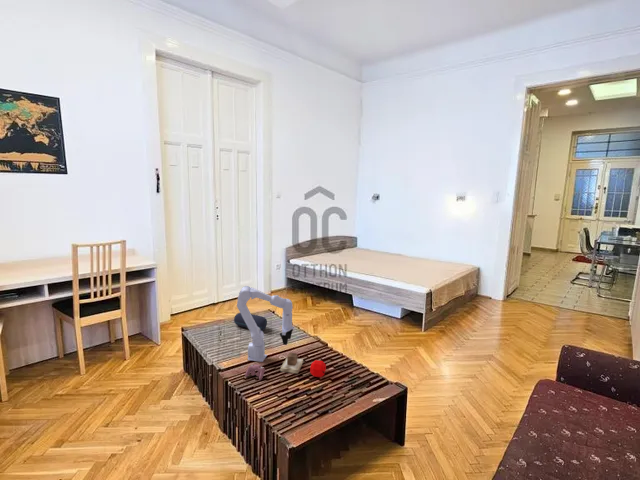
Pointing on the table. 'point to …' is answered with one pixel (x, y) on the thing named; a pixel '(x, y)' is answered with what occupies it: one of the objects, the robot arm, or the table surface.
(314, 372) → the ball
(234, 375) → the table surface
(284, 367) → the shallow cream tray
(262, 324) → the portable speaker
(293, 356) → the walnut block
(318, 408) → the table surface
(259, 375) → the video game controller
